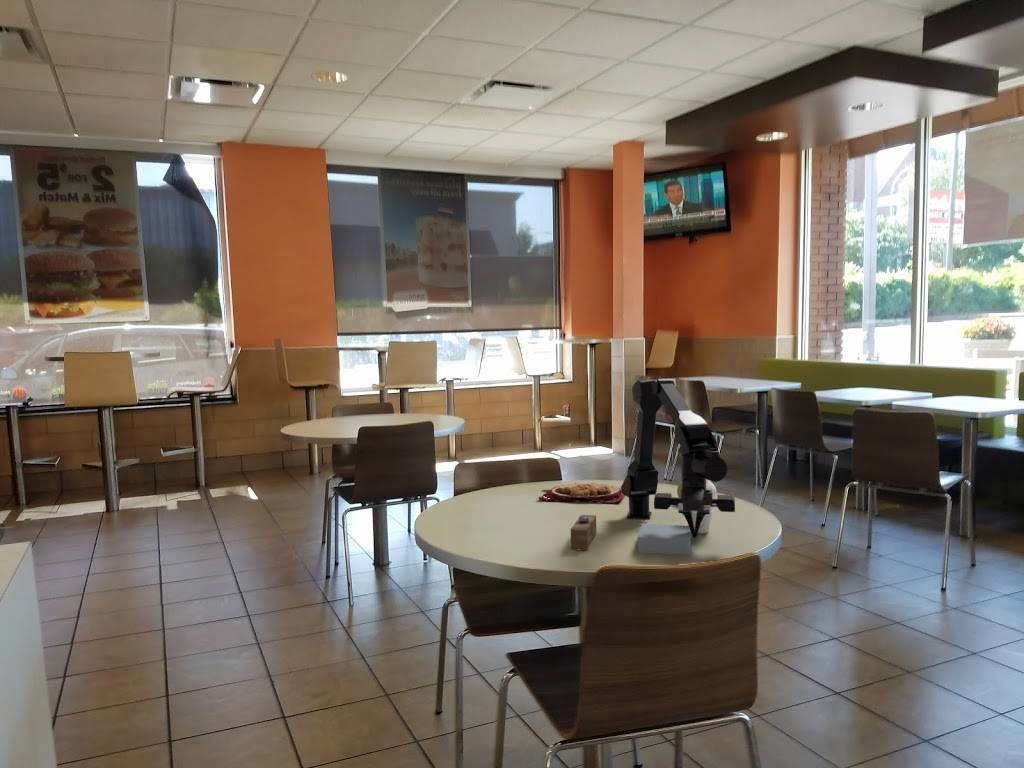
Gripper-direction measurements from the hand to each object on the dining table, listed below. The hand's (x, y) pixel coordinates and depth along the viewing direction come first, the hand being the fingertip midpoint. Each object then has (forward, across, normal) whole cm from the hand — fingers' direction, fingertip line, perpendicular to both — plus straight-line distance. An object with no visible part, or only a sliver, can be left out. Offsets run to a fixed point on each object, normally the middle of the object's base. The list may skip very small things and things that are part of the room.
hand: (694, 537), depth 175 cm
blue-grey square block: (+3, -7, 0) cm, 8 cm away
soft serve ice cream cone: (+3, +1, +14) cm, 14 cm away
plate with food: (+4, -36, +52) cm, 63 cm away
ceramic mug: (+3, 0, +46) cm, 47 cm away
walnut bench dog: (+2, -27, 0) cm, 27 cm away
